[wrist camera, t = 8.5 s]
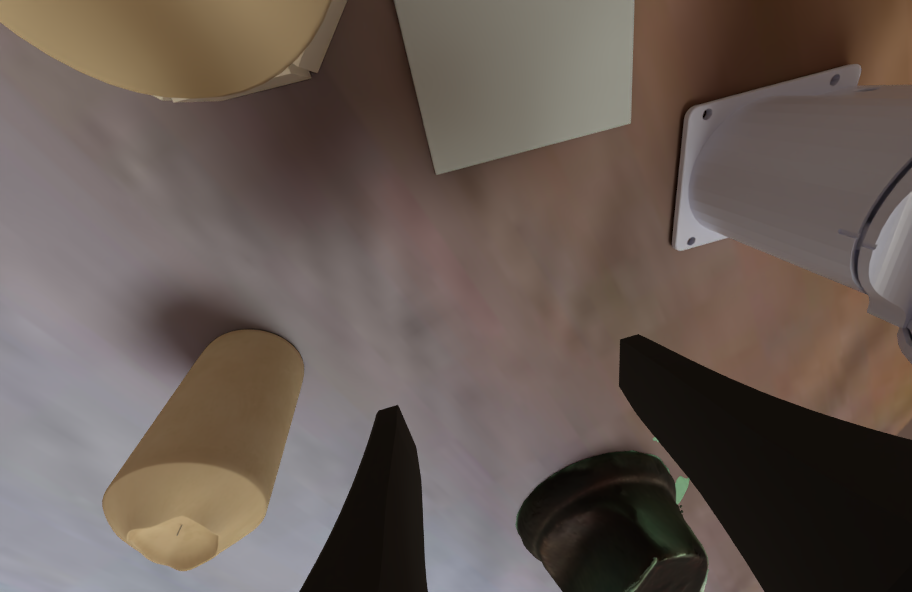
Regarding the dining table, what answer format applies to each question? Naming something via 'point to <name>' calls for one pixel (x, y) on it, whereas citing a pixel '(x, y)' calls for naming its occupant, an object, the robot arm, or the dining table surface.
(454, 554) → the dining table surface
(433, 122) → the mat
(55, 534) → the dining table surface
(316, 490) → the dining table surface
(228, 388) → the candle
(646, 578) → the black rounded piece
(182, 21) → the lid
